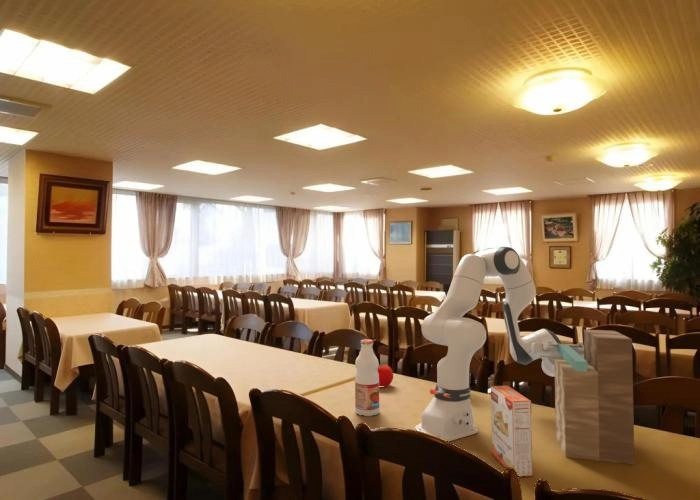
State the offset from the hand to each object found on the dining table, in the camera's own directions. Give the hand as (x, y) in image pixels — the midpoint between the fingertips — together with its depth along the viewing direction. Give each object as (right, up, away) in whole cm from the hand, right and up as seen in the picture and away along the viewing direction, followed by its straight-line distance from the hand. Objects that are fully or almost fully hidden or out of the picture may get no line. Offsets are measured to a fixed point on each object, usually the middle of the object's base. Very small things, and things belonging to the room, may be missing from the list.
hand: (565, 344), depth 145 cm
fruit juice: (-68, -31, +19) cm, 77 cm away
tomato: (-60, -32, +52) cm, 85 cm away
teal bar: (-2, -4, -8) cm, 9 cm away
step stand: (+1, -30, -14) cm, 33 cm away
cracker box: (-28, -30, -24) cm, 47 cm away
